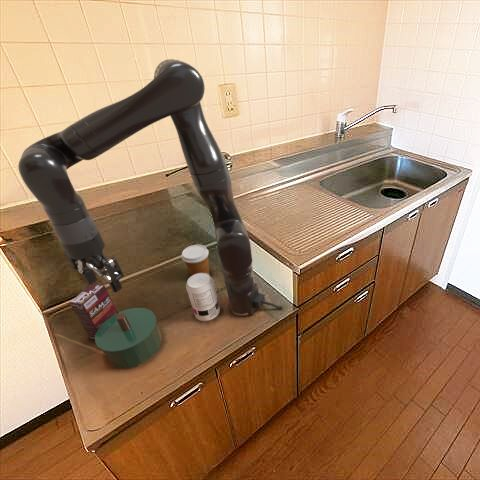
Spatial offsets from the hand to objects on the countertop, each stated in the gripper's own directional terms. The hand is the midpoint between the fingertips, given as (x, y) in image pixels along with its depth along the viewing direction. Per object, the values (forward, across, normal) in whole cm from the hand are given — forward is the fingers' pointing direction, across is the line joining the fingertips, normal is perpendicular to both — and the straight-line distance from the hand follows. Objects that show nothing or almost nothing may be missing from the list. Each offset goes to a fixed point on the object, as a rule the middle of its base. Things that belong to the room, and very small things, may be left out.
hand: (105, 286), depth 82 cm
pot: (+25, 0, 0) cm, 25 cm away
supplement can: (+25, +12, +19) cm, 34 cm away
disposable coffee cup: (+25, -2, +34) cm, 42 cm away
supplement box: (+25, -14, +2) cm, 29 cm away
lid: (+17, 0, 0) cm, 17 cm away
